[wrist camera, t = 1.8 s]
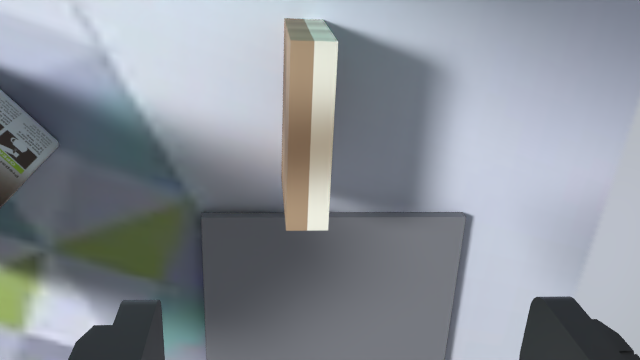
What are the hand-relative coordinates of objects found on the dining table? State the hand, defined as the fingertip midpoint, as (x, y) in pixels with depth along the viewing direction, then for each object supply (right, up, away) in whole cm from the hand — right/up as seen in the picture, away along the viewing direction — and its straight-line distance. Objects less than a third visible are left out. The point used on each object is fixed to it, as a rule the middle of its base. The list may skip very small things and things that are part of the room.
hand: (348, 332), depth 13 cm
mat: (0, -6, +22) cm, 23 cm away
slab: (-2, +7, +17) cm, 18 cm away
